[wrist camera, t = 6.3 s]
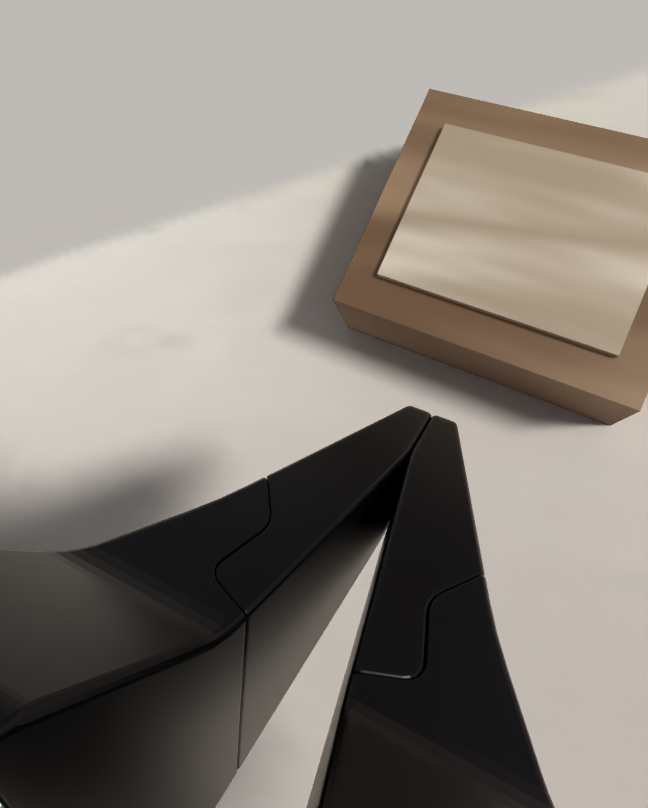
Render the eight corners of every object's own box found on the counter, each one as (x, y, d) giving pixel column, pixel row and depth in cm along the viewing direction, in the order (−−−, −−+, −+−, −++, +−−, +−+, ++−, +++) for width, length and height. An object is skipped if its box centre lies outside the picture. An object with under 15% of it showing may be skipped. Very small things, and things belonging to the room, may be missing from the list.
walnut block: (642, 409, 14) (744, 155, 14) (331, 297, 16) (429, 84, 17) (607, 427, 17) (692, 216, 17) (350, 330, 19) (432, 149, 20)
